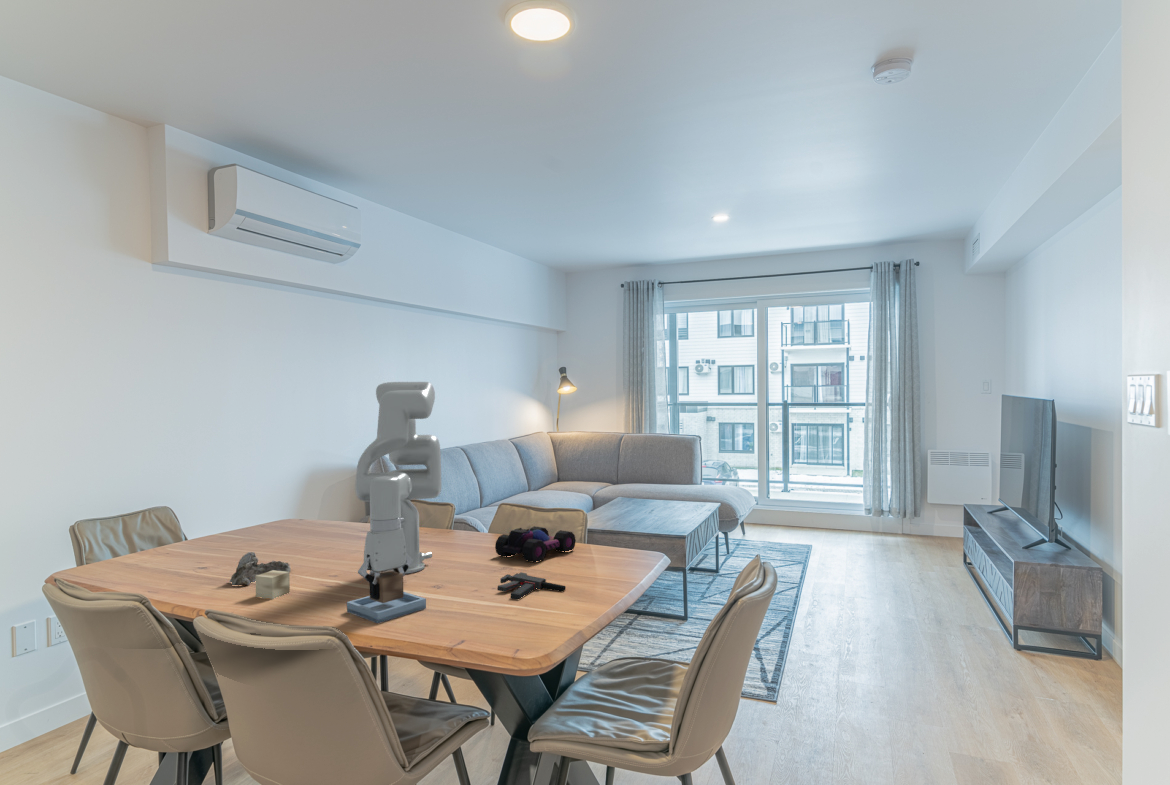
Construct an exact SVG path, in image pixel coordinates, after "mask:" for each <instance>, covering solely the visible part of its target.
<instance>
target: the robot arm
mask: <svg viewBox="0 0 1170 785" xmlns="http://www.w3.org/2000/svg"><path fill="white" fill-rule="evenodd" d="M435 394H436V392H435V389H434V386H433V384H432V383H431V382H428V381H391V382H389V381H388V382H383V383H380V384H378V385H377V386H376V388H375V395H376V396H375V397H376V400H377V403H378V404H379V405H378V406H379V407H378V415H377V416H378V419H377V429H376V438H375V439H374V440H373V441H372V442H371V443H370V444H369V445H368V446H367V447H366V448H365V449H364V451H363V453H362V454H361V456H359V459H358V462H357V466H356V475H355V486H354V489H355V490H354V491H355V495H356V497H357V499H358V500H359V501H362V502H369V521H370V522H369V527H370V529H369V530H370V531H367V532H366V536H365V542H364V550H363V563H362V564H361V566H360V567H359V569H358V570H357V574H358V575H359V576H361V577H363V579H364V580H365V581H367V583H368V584H369V583H370V587H369V596H370V597H371V598H373V599H376V600H378V599H379V583H377V582H378V578H379V575H380V573H381V572H385V571H389V570H391V571H394V572H398V573H402V574H403V578H404V577H405V576H406V574H407V575H408V574H413V573H416V572H420V571H423V569H424V568H425V565H426V564H425V562H424V561H425V560H428V559H432V557H433V553H432V552H431V551H428V552H420V513H419V511H418V508H417V507H416V505H414V504H413V502H412V500H423V499H424V500H426V499H428V500H429V499H435V498H437V497H439V495H440V494H441V492H442V460H441V459H442V457H441V453H442V452H441V444H440V440H439V439H438V437H437V436H436V435H432V434H418V433H417V431H416V430H417V427H416V424H417V423H416V422H417V421H416V420H424V419H425V420H426V419H429V417H431V414H432V411H433V408H434V404H435V399H436V395H435ZM387 455H388V458H389V462H390V463H391V464H393V465H394V466H395V465H396V466H425V467H426V468H405V469H404V468H403V469H402V468H401V469H399V468H398V469H394V470H392V471H390V472H370V473H369V470H370V468H371V466H372V465H373V464H374V463H375V462H376V461H377V460H379V459H380V458H382V457H384V456H387ZM367 571H369V573H368V572H367Z"/></svg>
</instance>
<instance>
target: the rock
mask: <svg viewBox="0 0 1170 785" xmlns="http://www.w3.org/2000/svg"><path fill="white" fill-rule="evenodd" d="M258 561H259V558H258V557H257V555H256V553H255V552H254V551H249V552H247V553H245V554H244V555H242V557H241V558H240V559H239V561H238V565H237V566H236V570H235V572H234V573H233V574H232V575H231V578H230V580H229V582H232V585H249V586H250V585H251V584H252V583H251V582H255V581H256V576H257V575H260V574H263V573H266V572H269V571H272V570H275V571H285V572H289V574H290V573H291V566H290V564H289V563H288V562H284V561H280V560H278V561H277V560H272V561H270V562H267V563H263V562H261V563H259V562H258ZM258 563H259V564H258ZM250 583H251V584H250ZM255 583H256V582H255Z"/></svg>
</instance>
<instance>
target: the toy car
mask: <svg viewBox="0 0 1170 785" xmlns="http://www.w3.org/2000/svg"><path fill="white" fill-rule="evenodd" d="M575 547H576V536H575V534H574V532H573V531H568V530H558V531H557V532H556V533H555V534H554V535H553V536H552V535H550V534H549V531H548V529H547V528H546V527H540V526H532V527H531V528H527V529H526V528H522V527H519V528H515V529H513V530H510V532H509V534H500V536H498V537H497V539H496V540H495V546H494V548H495V553H496V554H497V555H498V556H499V555H501V556H500V557H503V556H506V557H505V558H508V557H507V556H511V555H515V554H516V555H520V554H521V555H522V558H523V559H524V560H525V561H526V560H528V561H527V562H529V561H533V562H532V563H534V562H536V561H540V560H542V559H543V560H544V558H545V556H546V553H547V551H550V550H553V549H554V550H555V551H556V550H557V551H556V552H558V551H564V552H565V551H569V550H572V549H573V550H574V548H575ZM573 550H572V551H573ZM564 552H563V553H564ZM516 555H515V556H516ZM543 560H542V561H543Z"/></svg>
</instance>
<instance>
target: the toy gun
mask: <svg viewBox="0 0 1170 785" xmlns="http://www.w3.org/2000/svg"><path fill="white" fill-rule="evenodd" d="M499 579H500V584H498V585H497V591H500V592H508V591H511V590H513V589H514V590H513V591H512V592H510V595H509V596H510V598H514V599H513V600H516V599H520V598H521V597H523V596H524V595H526V594H527V595H529V594H530V593H532V592H533V591H535V590H537V589H541V588H542V589H543V588H544V590H548V589H552V590H551V591H554V590H559V591H558V592H561V591H563V590H565V591H566V585H562V584H557V583H553V582H552V583H551V582H547V579H546V578H545V577H544V578H542V577H539V576H532V575H528V573H526V572H521V571H520V572H518V573H517V572H516V573H515V574H513V575H511V574H505V575H504V576H502V577H501V578H499ZM508 581H509V582H508ZM506 582H507V583H506ZM518 586H521V587H518ZM536 588H537V589H536ZM534 589H535V590H534ZM542 589H541V590H542ZM532 590H533V591H532ZM531 591H532V592H531ZM529 592H530V593H529ZM563 592H564V591H563ZM528 593H529V594H528ZM527 595H526V596H527ZM524 597H525V596H524ZM524 597H523V598H524ZM521 599H522V598H521ZM521 599H520V600H521Z"/></svg>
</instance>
